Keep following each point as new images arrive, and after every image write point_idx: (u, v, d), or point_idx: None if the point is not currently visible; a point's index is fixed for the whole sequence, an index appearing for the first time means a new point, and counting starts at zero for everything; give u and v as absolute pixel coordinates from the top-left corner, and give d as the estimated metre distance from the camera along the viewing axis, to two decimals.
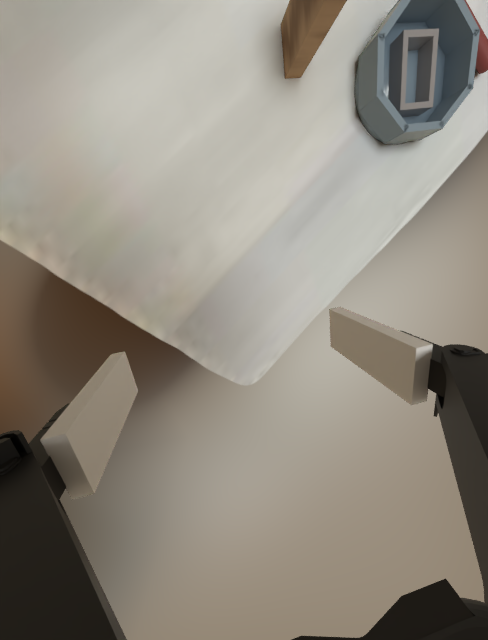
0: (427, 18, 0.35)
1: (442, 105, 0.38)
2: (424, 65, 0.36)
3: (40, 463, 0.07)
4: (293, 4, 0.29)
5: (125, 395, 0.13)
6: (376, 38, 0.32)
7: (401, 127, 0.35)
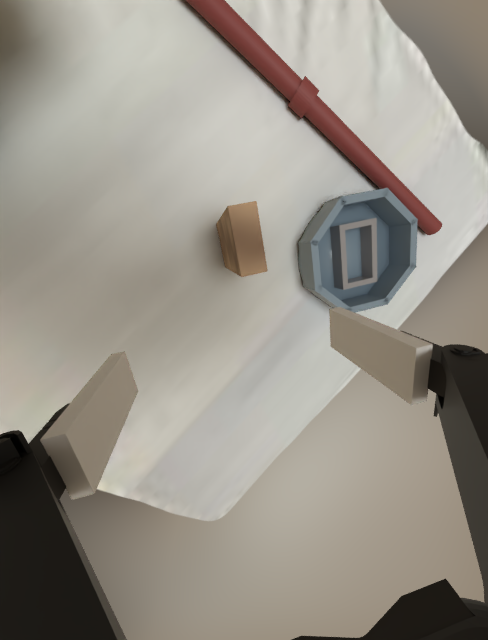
0: (366, 201, 0.34)
1: (389, 272, 0.37)
2: (366, 243, 0.35)
3: (40, 463, 0.07)
4: (220, 229, 0.29)
5: (125, 395, 0.13)
6: (310, 243, 0.31)
7: None
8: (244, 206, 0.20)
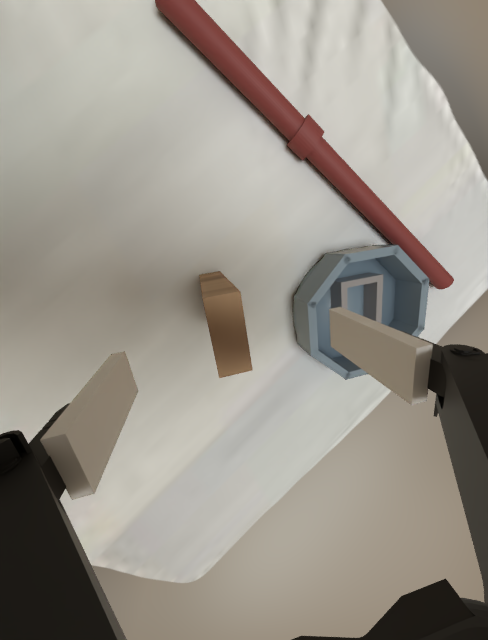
0: None
1: None
2: (370, 300, 0.31)
3: (40, 463, 0.07)
4: None
5: (125, 395, 0.13)
6: (307, 304, 0.27)
7: (342, 376, 0.31)
8: (224, 298, 0.15)
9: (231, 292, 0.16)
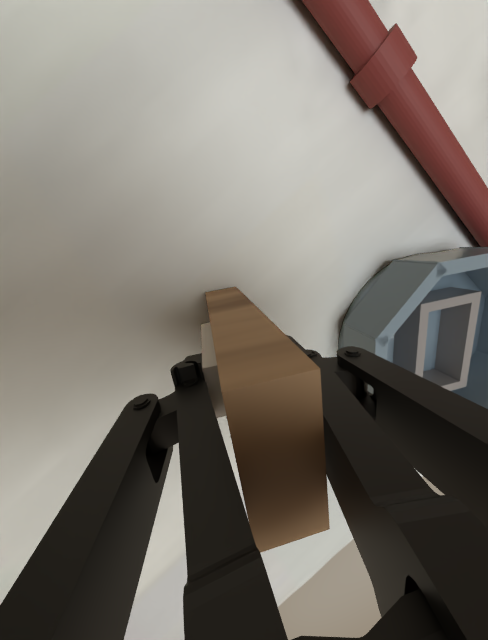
0: None
1: (479, 367, 0.24)
2: (453, 327, 0.21)
3: None
4: None
5: None
6: (373, 340, 0.17)
7: None
8: (279, 387, 0.06)
9: (295, 370, 0.06)
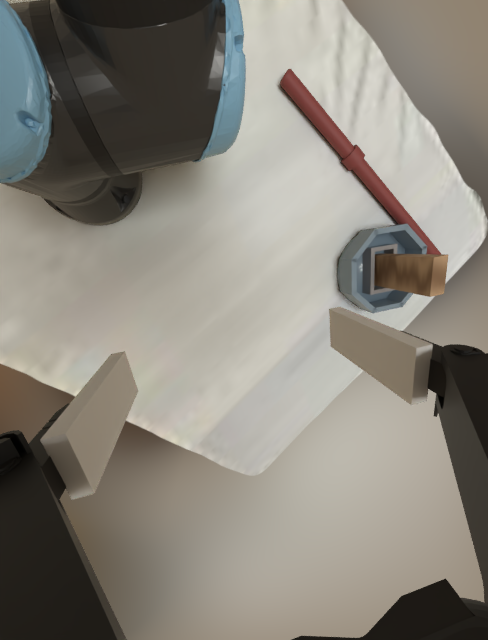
0: None
1: None
2: None
3: (40, 463, 0.07)
4: (384, 261, 0.45)
5: (125, 395, 0.13)
6: (350, 260, 0.44)
7: (370, 310, 0.47)
8: (441, 257, 0.35)
9: (443, 255, 0.35)
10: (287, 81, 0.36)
